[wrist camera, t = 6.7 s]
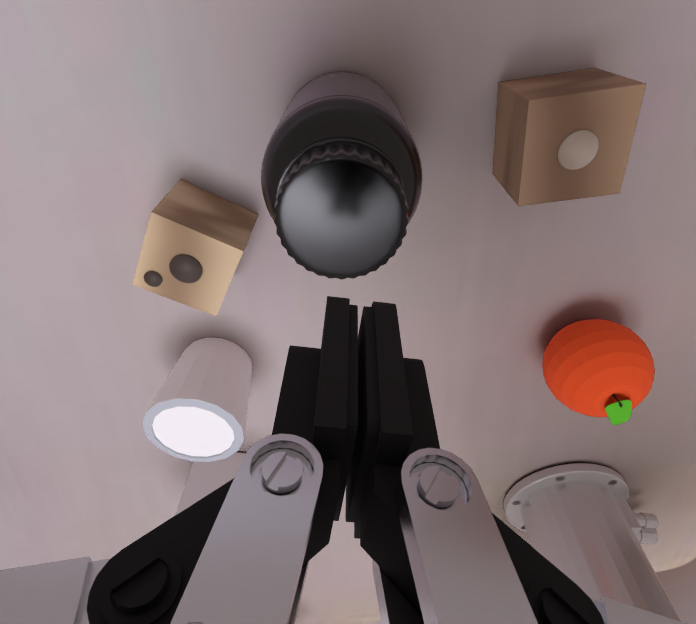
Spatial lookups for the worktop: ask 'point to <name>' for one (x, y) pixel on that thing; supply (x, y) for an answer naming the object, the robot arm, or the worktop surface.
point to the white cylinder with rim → (202, 402)
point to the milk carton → (208, 478)
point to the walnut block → (564, 134)
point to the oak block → (193, 247)
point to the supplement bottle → (341, 176)
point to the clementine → (598, 369)
